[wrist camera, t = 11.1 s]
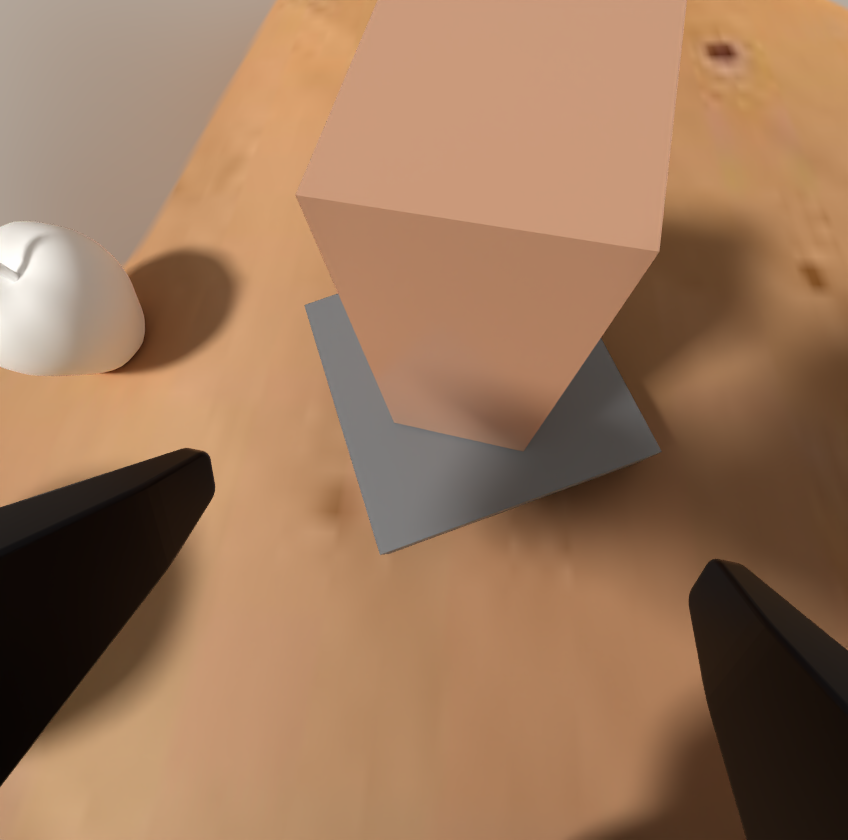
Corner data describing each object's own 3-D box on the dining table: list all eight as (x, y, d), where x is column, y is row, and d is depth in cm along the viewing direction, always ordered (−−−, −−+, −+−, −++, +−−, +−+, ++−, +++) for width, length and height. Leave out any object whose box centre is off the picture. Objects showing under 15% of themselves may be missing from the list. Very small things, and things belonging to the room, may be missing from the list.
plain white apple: (171, 270, 24) (41, 145, 17) (173, 384, 22) (26, 300, 15) (53, 295, 24) (-129, 182, 17) (45, 410, 22) (-168, 341, 15)
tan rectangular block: (523, 451, 17) (659, 252, 6) (394, 422, 18) (295, 195, 7) (545, 334, 19) (686, -4, 8) (425, 311, 20) (388, -27, 8)
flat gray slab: (632, 465, 20) (661, 451, 17) (391, 553, 20) (380, 554, 17) (529, 262, 23) (539, 223, 21) (323, 335, 23) (304, 305, 20)
